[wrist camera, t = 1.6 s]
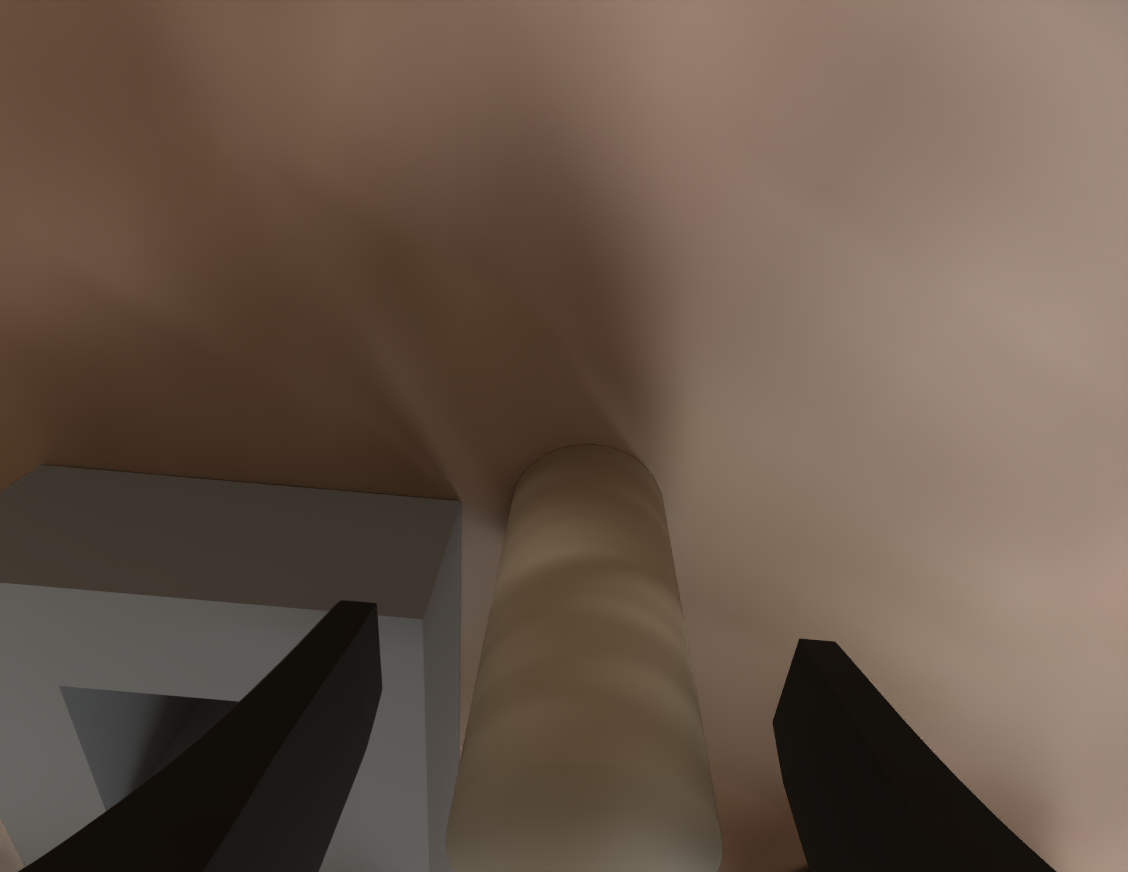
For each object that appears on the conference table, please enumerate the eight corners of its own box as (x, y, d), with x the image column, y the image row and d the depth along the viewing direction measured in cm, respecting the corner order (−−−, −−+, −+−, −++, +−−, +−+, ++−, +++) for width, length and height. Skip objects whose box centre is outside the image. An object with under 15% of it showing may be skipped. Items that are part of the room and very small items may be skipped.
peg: (674, 451, 15) (748, 774, 8) (652, 577, 17) (697, 939, 10) (515, 437, 15) (444, 748, 8) (508, 565, 17) (446, 917, 10)
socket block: (461, 501, 16) (422, 619, 12) (458, 854, 22) (432, 1000, 19) (40, 464, 16) (-121, 572, 12) (159, 829, 22) (76, 969, 19)
